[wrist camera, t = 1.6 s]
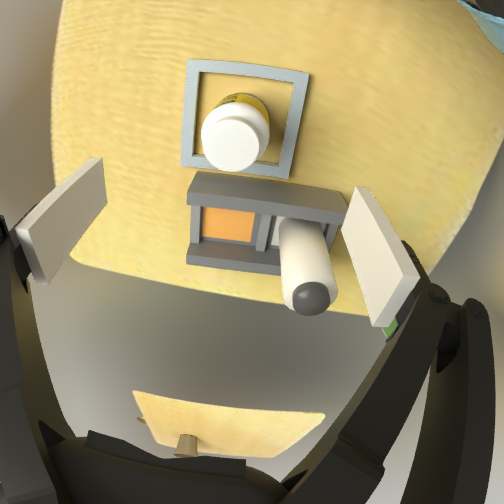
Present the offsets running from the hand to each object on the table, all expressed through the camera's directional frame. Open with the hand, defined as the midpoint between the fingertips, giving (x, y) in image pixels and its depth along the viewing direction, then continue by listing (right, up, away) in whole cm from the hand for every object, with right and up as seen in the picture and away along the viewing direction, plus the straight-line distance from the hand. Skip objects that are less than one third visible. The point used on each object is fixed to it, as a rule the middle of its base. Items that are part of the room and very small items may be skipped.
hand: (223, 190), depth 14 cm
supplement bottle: (0, +10, +13) cm, 17 cm away
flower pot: (-22, -71, +78) cm, 108 cm away
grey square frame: (0, +10, +13) cm, 17 cm away
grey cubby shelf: (+3, +1, +20) cm, 20 cm away
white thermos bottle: (+7, -1, +19) cm, 20 cm away
